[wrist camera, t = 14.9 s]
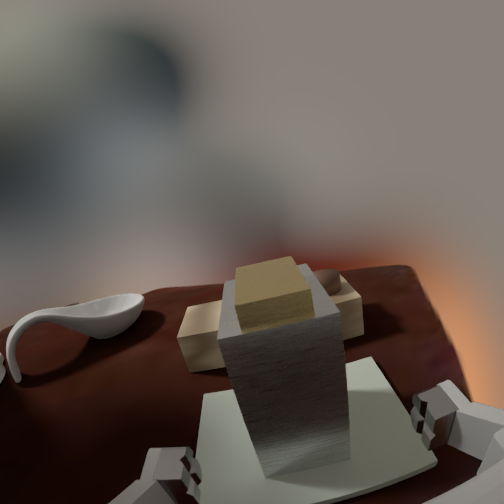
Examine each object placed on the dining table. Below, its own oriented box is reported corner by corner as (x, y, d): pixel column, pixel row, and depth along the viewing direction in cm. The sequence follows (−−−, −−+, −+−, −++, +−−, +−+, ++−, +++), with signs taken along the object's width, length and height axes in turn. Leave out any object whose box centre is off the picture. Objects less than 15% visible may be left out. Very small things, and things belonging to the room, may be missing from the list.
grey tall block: (265, 478, 15) (209, 312, 12) (259, 404, 22) (219, 262, 19) (350, 458, 15) (336, 284, 12) (325, 390, 21) (302, 244, 19)
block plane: (189, 372, 29) (171, 322, 27) (197, 337, 35) (183, 293, 34) (364, 334, 28) (359, 280, 27) (343, 305, 35) (337, 259, 34)
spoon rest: (128, 307, 51) (115, 268, 49) (165, 318, 43) (150, 271, 42) (11, 368, 34) (-10, 325, 32) (22, 398, 26) (-6, 346, 25)
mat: (192, 521, 13) (188, 517, 12) (206, 399, 24) (203, 394, 24) (436, 465, 12) (437, 460, 12) (371, 362, 24) (370, 356, 24)
